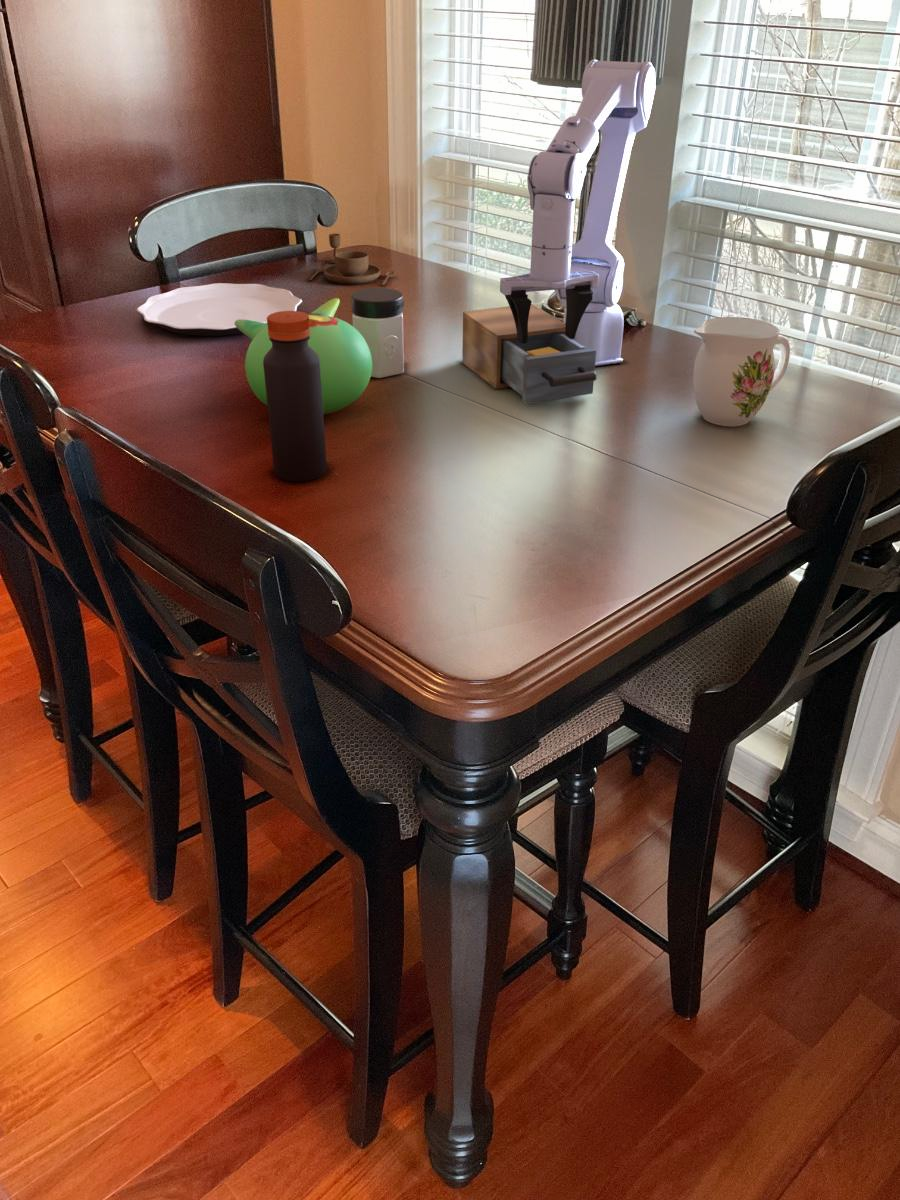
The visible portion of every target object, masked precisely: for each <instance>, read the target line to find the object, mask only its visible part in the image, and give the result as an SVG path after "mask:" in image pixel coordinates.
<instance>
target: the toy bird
mask: <svg viewBox="0 0 900 1200" xmlns="http://www.w3.org/2000/svg"><path fill="white" fill-rule="evenodd" d="M340 302H341V301H340V298H338V297H335V298H331V299H329V300H327V301H326V302H325V303H323V304H321V305H320V306H319V307H318V308H316V309H314V310H313V311H312V312H310V313H306V314H307V315H308V316H309V326H310V335H309V336H310V339H309V340H308V346H310V347H311V348H312V349H313V350H314V351H315V352H316V353H317V354H318V355H319V358H320V373H321V387H322V402H323V416H324V415H328V414H331V413H335V412H338V411H340V410H343V409H345V408H347V407H348V406H350V405H351V404H352V403H354V402H355V401H356V400H358V399H359V398H360V397H361V396H362V394H363V393H364V392H365V391H366V389H367V387H368V385H369V383H370V381H371V378H372V377H371V373H372V357H371V353H370V350H369V347H368V345H367V343H366V341H365V339H364V338H363V336H362V335H361V334H360V333H359V332H358V331H357V330H356V329H355V328H354V327H353V325H351V324H350V323H349V322H347V321H345V320H343V319H340V318H338V317H334V316H335V314H336V312H337V310H338V308H339V306H340ZM234 324H235V326H236V327H237V328H238V329H239V330H240V331H241V332H243V334H244V335H245V336H246V337H248V338H249V339H250V340H251V342H250V343H249V346H248V348H247V351H246V354H245V359H244V363H245V364H244V370H245V376H246V379H247V382H248V385H249V387H250V390H251V391H252V392H253V394H254V395H255V396H256V397H257V399H258V400H259V401H260V402H261V403H262V404H264V406H267V396H266V386H265V376H264V366H263V360H264V356H265V355H266V354H267V353H268V351H269V350H270V349H271V348H272V342H271V341H270V340H269V335H268V325H267V324H265V323H261V322H256V321H251V320H245V319H239V320H236V321H235V323H234Z"/></svg>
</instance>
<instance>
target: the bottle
mask: <svg viewBox="0 0 900 1200" xmlns="http://www.w3.org/2000/svg"><path fill="white" fill-rule="evenodd" d="M307 314H308V313H306V312H304V311H299V310H296V311H281V312H276V313H273V314H270V315H269V316H268V317H267V325H268V335H269V340H270V341H271V342H272V348H271V349H270V350H269V351H268V353H267V354H266V355H265V356H264V360H263V366H264V376H265V386H266V396H267V405H266V406H267V413H268V424H269V434H270V444H271V454H272V463H273V464H272V465H273V472H274V474H275V476H276V477H278V478H279V479H281V480H284V481H287V482H294V483H300V482H301V483H302V482H309V481H313V480H316V479H319V478H321V477H322V476H323V475H324V474H325V473H326V472H327V470H328V464H327V463H328V461H327V448H326V446H327V445H326V434H325V419H324V417H325V416H324V415H323V402H322V387H321V373H320V358H319V355H318V354H317V353H316V352H315V351H314V350H313V349H312V348H311V347H310V346H308V340H309V339H310V336H309V335H310V326H309V316H308V315H307Z"/></svg>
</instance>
